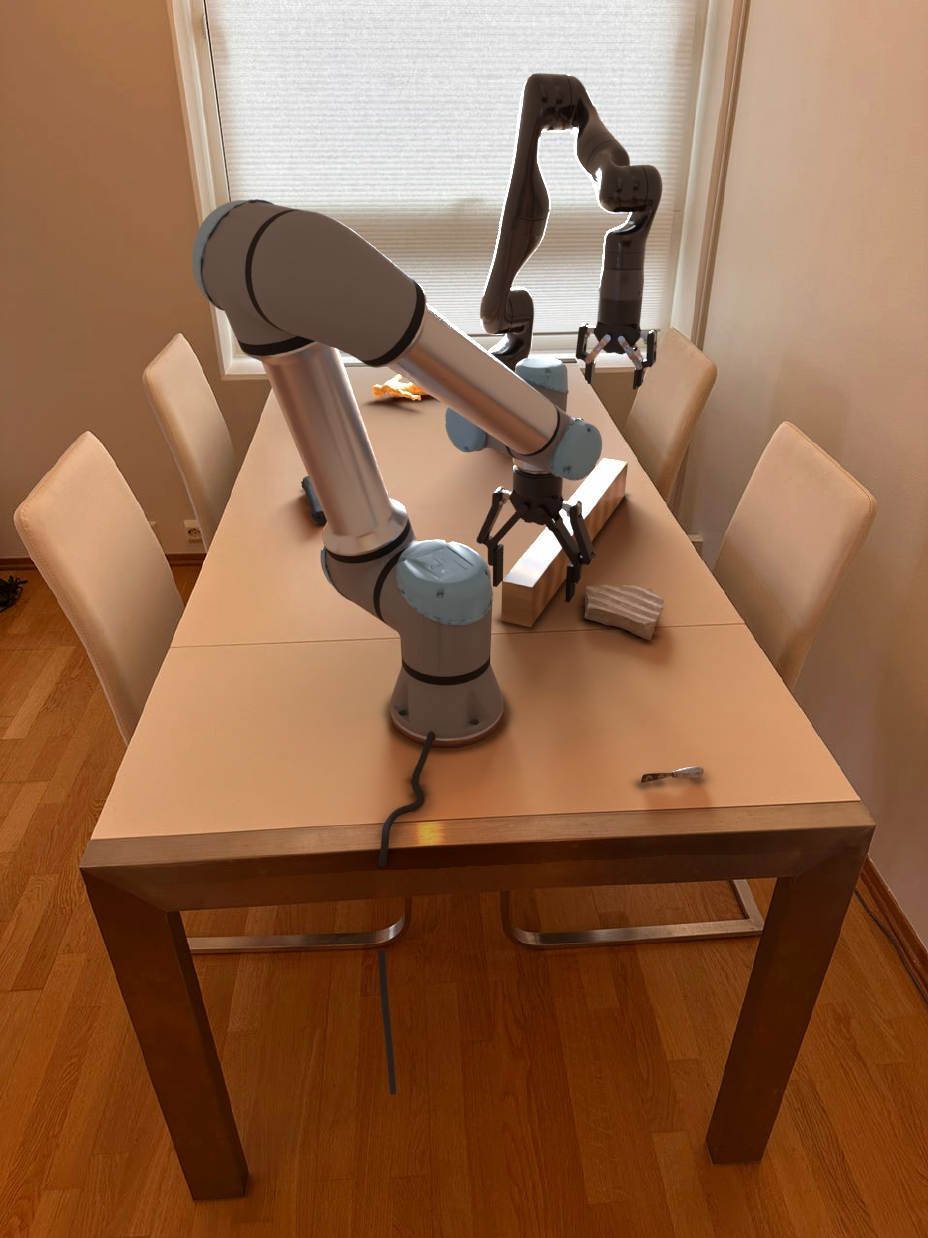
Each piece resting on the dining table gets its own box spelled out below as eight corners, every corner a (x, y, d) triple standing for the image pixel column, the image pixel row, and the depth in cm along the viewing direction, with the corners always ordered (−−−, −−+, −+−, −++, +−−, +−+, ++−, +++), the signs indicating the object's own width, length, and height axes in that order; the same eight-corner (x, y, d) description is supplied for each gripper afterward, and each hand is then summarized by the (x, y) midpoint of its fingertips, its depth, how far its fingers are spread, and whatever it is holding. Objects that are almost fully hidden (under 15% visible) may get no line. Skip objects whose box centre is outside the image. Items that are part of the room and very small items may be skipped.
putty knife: (703, 777, 109) (705, 767, 109) (642, 788, 108) (644, 777, 107) (700, 772, 110) (702, 762, 109) (639, 782, 109) (640, 771, 108)
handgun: (373, 518, 173) (311, 526, 170) (357, 482, 187) (300, 489, 184) (372, 503, 171) (309, 511, 168) (356, 468, 185) (298, 474, 182)
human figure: (365, 397, 234) (364, 383, 232) (408, 376, 248) (408, 362, 246) (428, 412, 226) (427, 396, 223) (468, 389, 240) (468, 374, 237)
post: (530, 627, 139) (532, 587, 135) (500, 620, 141) (501, 580, 137) (624, 495, 181) (628, 461, 177) (601, 491, 183) (603, 457, 179)
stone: (668, 604, 144) (670, 590, 143) (652, 641, 135) (653, 627, 134) (591, 589, 149) (592, 576, 147) (570, 625, 139) (570, 611, 138)
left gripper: (623, 468, 132) (611, 594, 143) (474, 444, 140) (474, 566, 152) (608, 487, 126) (597, 617, 138) (454, 461, 134) (456, 586, 146)
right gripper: (666, 292, 155) (656, 384, 164) (587, 285, 160) (582, 375, 169) (656, 301, 149) (646, 396, 158) (574, 294, 154) (569, 386, 163)
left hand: (533, 590), depth 145 cm, fingers open, 12 cm apart
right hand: (613, 385), depth 163 cm, fingers open, 8 cm apart
